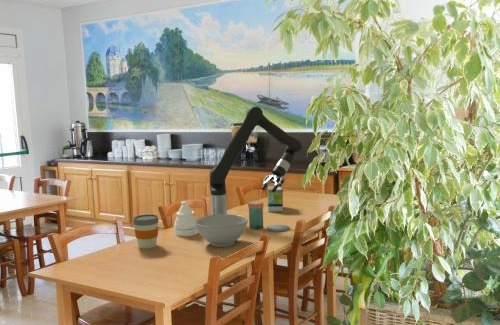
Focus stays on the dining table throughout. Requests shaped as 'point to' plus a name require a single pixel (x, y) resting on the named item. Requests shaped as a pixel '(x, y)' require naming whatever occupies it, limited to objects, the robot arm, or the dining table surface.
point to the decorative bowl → (221, 228)
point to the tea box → (275, 199)
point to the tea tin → (256, 218)
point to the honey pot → (185, 221)
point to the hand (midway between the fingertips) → (267, 190)
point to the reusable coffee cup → (146, 230)
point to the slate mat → (278, 228)
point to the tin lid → (255, 205)
